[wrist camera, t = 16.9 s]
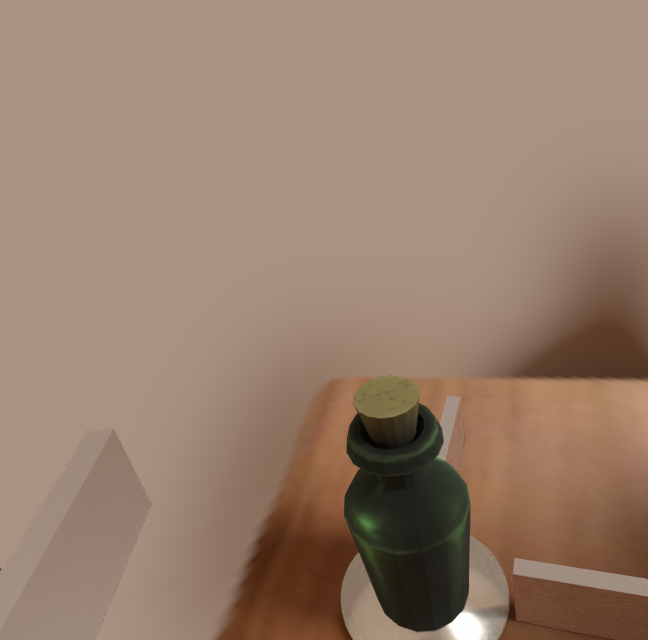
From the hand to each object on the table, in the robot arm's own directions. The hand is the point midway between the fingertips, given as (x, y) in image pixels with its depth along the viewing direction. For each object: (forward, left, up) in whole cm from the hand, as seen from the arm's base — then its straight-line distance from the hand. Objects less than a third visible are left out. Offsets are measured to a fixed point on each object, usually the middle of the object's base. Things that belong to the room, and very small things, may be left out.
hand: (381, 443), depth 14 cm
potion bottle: (-8, -14, -30) cm, 34 cm away
